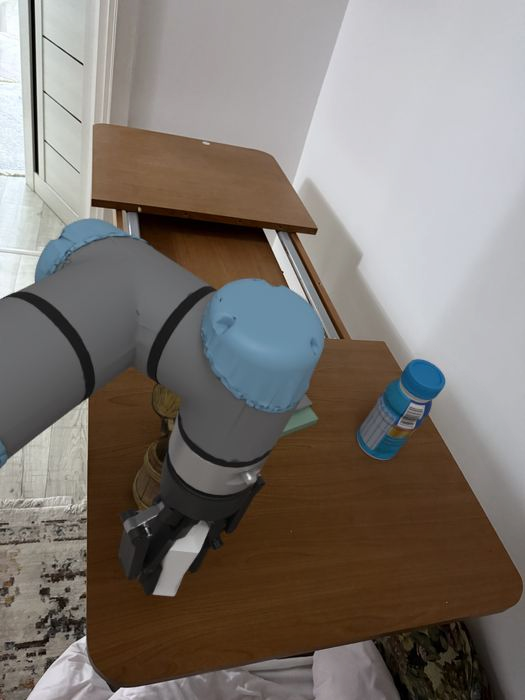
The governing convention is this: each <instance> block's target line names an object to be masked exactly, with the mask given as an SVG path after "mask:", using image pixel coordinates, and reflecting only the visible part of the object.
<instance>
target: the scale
mask: <svg viewBox="0 0 525 700" xmlns="http://www.w3.org/2000/svg"><path fill="white" fill-rule="evenodd" d="M318 421H319V417H318V416H317V415H316V413H315V412H314V410H313V409H312V407H311V406H310V407H307V408H305V409H302V410H299V411H296V412H294V413H293V415H292V416H291V418H290V420H289V422H288V423H287V425H286V427H285V429H284V430H283V432H282V434H281V436H280V437H279V438H282V437H284V436H287V435H290V434H292V433H295V432H298V431H301V430H304V429H306V428H308V427H311V426H315V425H316V424H317V423H318Z"/></svg>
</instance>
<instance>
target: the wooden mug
mask: <svg viewBox="0 0 525 700" xmlns="http://www.w3.org/2000/svg"><path fill="white" fill-rule="evenodd" d="M180 404H181V398H180V397H179V396H177V395H176V394H174V393H173V392H171V391H170V390H168V389H167V388H165V387H164V386H163V385H159V384H158V383H156V382H155V385H154V386H153V389H152V393H151V407H152V410H153V411H154V413H155V414H156V415H157V416H158V417H159V419H161V421H160V428H159V429H160V430H159V433H161V434H160V436H159V437H158V438H156V439H155V440H154V441H153V442H152V443H151V444H150V445H149V447H148V448H147V450H146V452H145V454H144V455H143V456H144V457H143V465H142V467H141V468H140V469H139V470H138V471H137V473H136V476H135V477H134V481H133V483H132V486H131V487H132V495H133V500H134V503H135V504H136V507H137V509H138V510H142V512H143V511H145V510H146V509H148V508H150V507H152V500H153V498H154V497H155V496H156V495H157V494H158V493H159V491H160V489H161V470H162V466H163V462H164V459H165V456H166V452H167V449H168V446H169V440H170V437H171V434H172V430H173V427H174V424H175V421H176V418H177V414H178V411H179V408H180Z"/></svg>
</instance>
